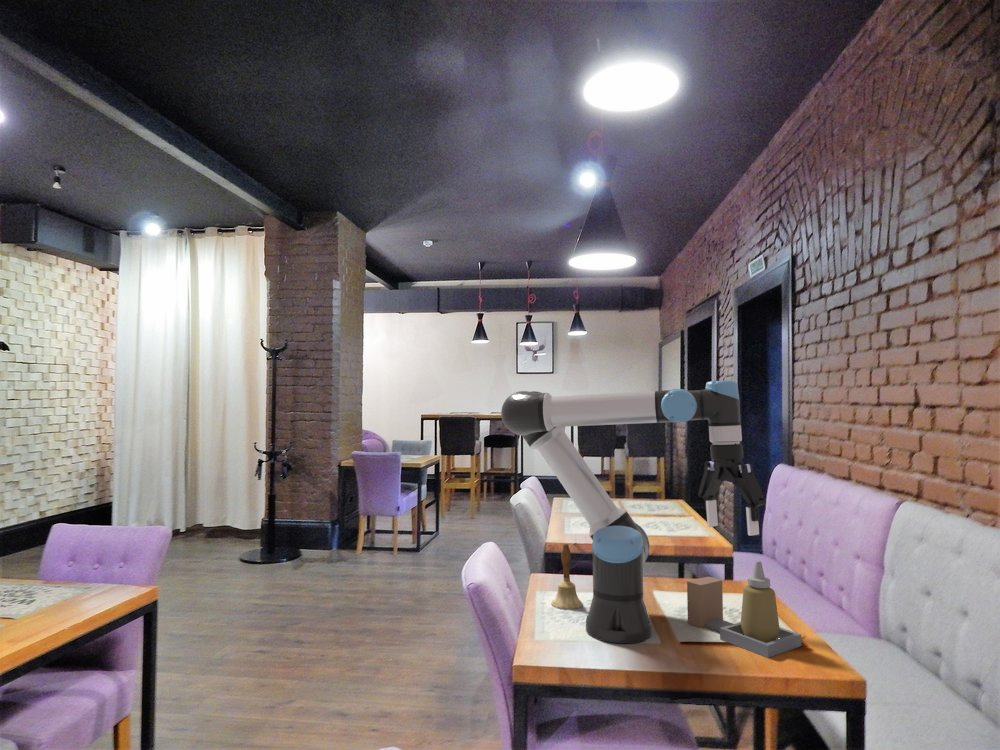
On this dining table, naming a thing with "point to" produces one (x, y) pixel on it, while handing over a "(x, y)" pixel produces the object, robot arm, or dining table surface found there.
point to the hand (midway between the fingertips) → (732, 530)
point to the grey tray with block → (709, 613)
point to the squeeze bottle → (759, 608)
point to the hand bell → (566, 585)
